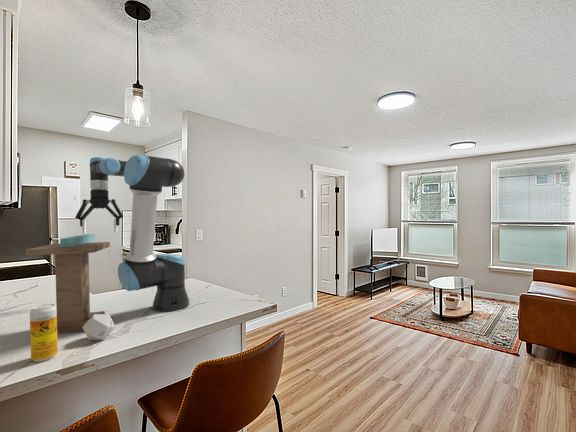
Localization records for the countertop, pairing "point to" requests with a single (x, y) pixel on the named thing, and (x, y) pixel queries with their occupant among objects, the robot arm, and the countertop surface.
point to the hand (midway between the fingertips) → (100, 232)
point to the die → (98, 327)
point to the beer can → (43, 332)
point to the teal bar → (76, 240)
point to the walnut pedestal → (71, 283)
